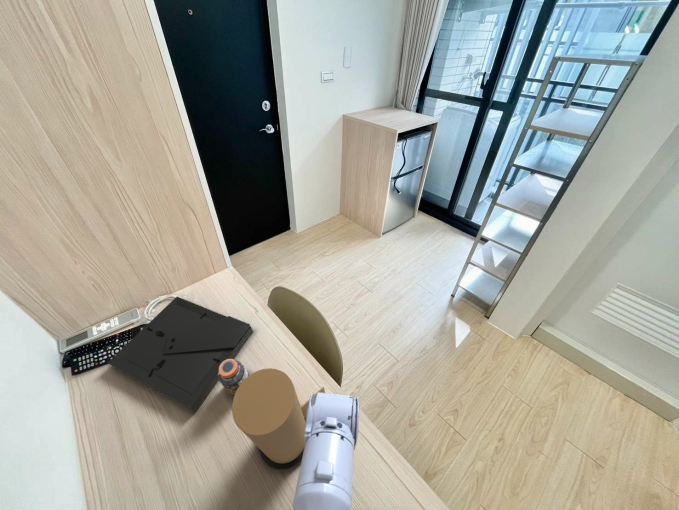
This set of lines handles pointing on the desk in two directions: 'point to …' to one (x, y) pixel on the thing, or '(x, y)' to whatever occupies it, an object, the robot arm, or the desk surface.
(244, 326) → the picture frame
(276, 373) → the tan pedal trash can
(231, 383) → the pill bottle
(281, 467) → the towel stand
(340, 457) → the robot arm
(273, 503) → the desk surface
